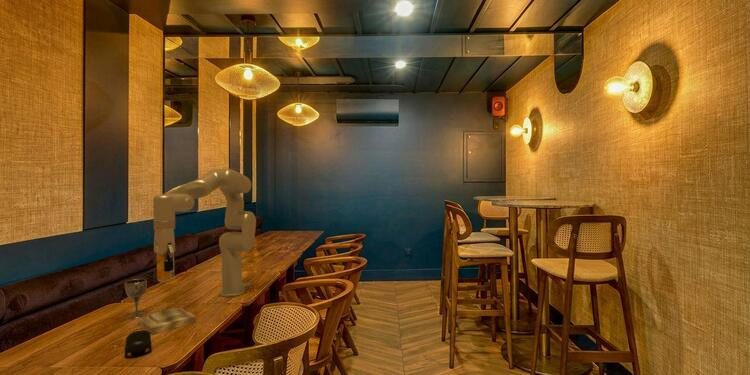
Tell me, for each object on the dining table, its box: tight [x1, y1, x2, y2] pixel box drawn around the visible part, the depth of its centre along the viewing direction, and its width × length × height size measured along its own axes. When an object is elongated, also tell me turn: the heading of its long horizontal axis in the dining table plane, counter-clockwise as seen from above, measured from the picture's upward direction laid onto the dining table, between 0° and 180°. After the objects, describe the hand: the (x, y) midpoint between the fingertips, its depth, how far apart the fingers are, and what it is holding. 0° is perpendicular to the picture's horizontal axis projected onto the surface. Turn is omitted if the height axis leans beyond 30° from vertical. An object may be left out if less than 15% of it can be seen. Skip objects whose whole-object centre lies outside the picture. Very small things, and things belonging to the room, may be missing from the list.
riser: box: [137, 307, 197, 336], centre depth 147 cm, size 16×16×4 cm
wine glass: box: [124, 278, 148, 319], centre depth 157 cm, size 8×8×15 cm
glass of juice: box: [155, 246, 175, 283], centre depth 147 cm, size 6×6×15 cm
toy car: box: [124, 328, 152, 358], centre depth 125 cm, size 8×17×5 cm, turn 33°
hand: (165, 269), depth 147 cm, fingers closed on glass of juice, 6 cm apart
